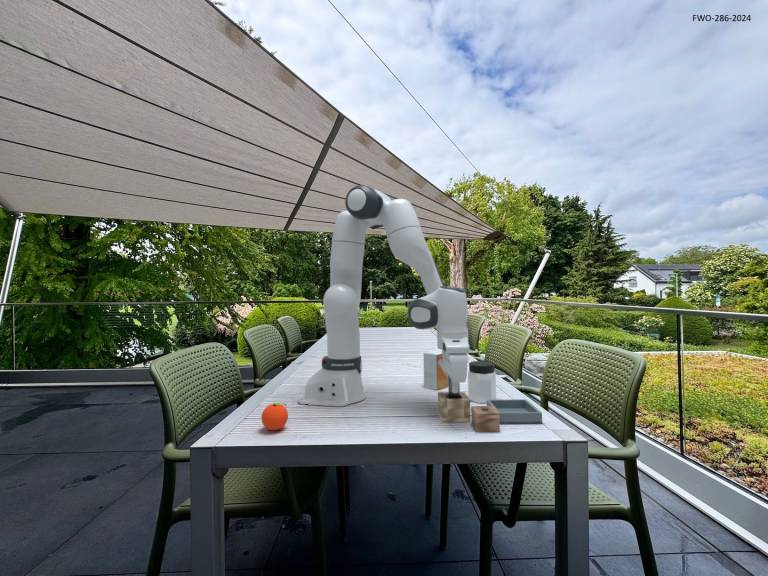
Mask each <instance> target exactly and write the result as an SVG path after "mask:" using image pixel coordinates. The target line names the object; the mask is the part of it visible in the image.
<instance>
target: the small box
mask: <svg viewBox="0 0 768 576" xmlns="http://www.w3.org/2000/svg"><path fill="white" fill-rule="evenodd" d="M447 387H448V373H447V372H446V370H445V369H444V367H443V362H442V350H441V349H436V350H432V351H431V350H430V351H427V352H423V388H425V389H429V390H434V391H438V390H442V389H445V388H447Z"/></svg>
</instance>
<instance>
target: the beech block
mask: <svg viewBox="0 0 768 576" xmlns="http://www.w3.org/2000/svg"><path fill="white" fill-rule="evenodd" d="M437 413H438V416H439V419H440V422H441V423H470V422H471V400H470V399H469V398H468V395H467V393H466V392H465V391H460V399H449V392H448V391H445V392H444V391H441V392H439V391H438V392H437Z"/></svg>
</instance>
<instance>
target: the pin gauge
mask: <svg viewBox="0 0 768 576" xmlns="http://www.w3.org/2000/svg"><path fill="white" fill-rule="evenodd" d="M460 383H461V382H459V392H458V393H453V392H452V390H451V385H452V381H451V378H450V377H449V375H448V388H447V389H448V391H447V392H449V399H460V392H461V390H460V388H461V387H460V385H461V384H460Z"/></svg>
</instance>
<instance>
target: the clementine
mask: <svg viewBox="0 0 768 576" xmlns="http://www.w3.org/2000/svg"><path fill="white" fill-rule="evenodd" d="M285 406H286V407H285ZM287 408H288V406H287V405H286V403H284V402H274V403H270V404H268V405H267V406H266V407H265V408H264V410H263V411H262V413H261V423H262V425H263V427H264V428H266V429H267V430H269V431H278V429H279V430H281V429H282V428H283V427H284V426H285V425H286V424H287V421H288V420H289V413H288V410H287Z"/></svg>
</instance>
